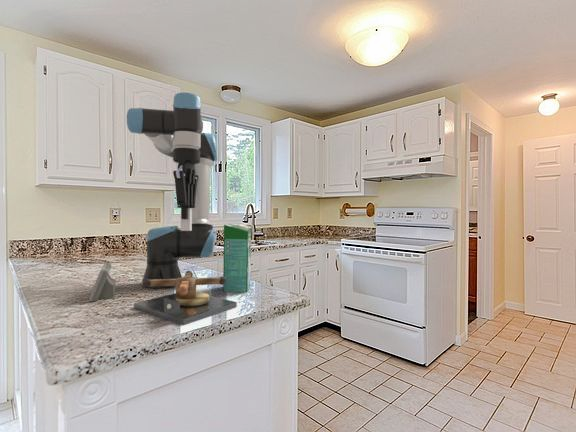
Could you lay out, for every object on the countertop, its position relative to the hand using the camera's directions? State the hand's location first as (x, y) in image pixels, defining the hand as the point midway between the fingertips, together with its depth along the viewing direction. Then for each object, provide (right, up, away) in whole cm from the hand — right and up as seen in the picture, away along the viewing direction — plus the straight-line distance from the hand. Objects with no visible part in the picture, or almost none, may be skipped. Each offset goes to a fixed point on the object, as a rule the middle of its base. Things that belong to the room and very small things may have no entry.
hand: (186, 230), depth 94 cm
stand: (-2, -24, +7) cm, 25 cm away
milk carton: (+10, -24, +31) cm, 41 cm away
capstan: (-2, -22, +7) cm, 23 cm away
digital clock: (-35, -24, +18) cm, 47 cm away
